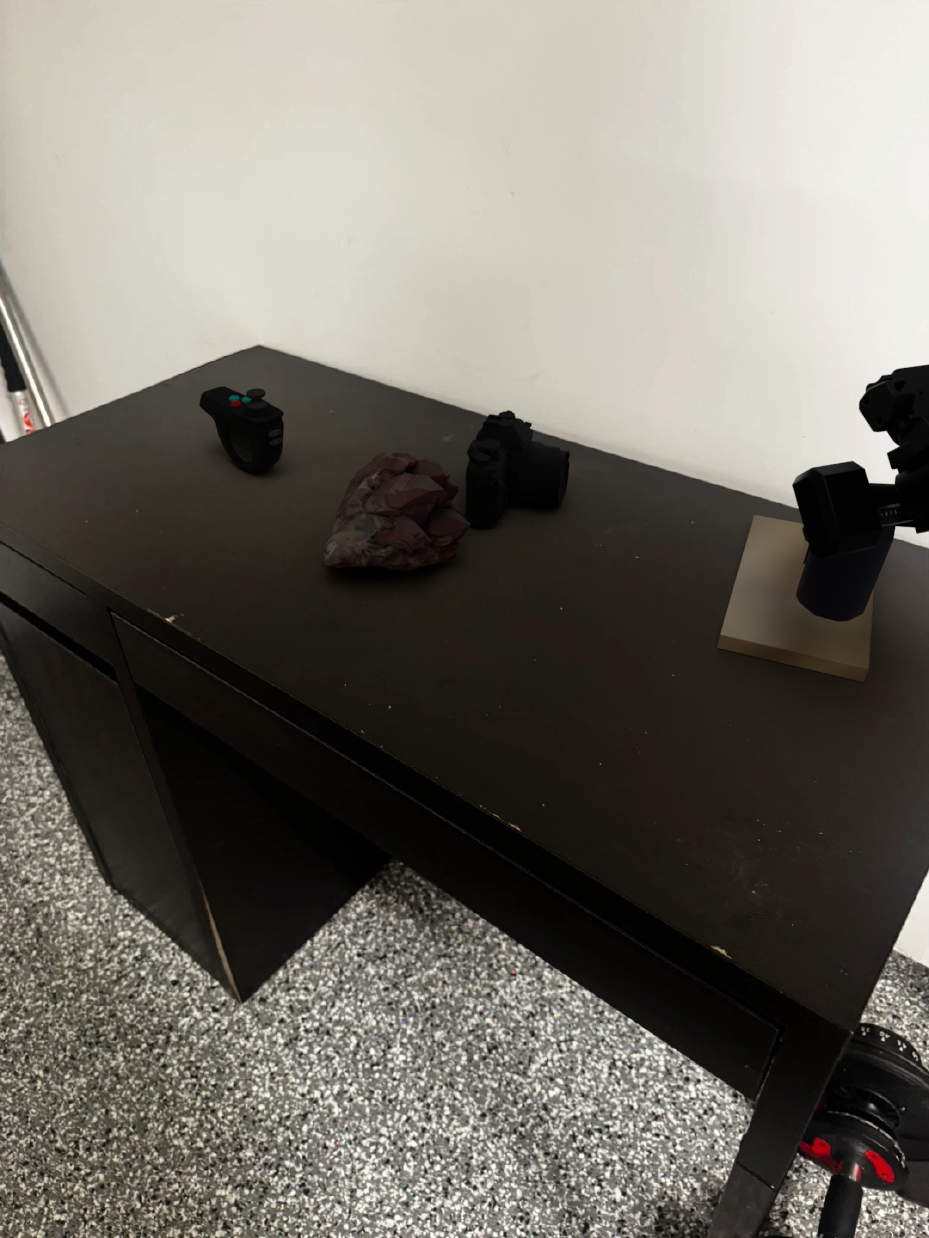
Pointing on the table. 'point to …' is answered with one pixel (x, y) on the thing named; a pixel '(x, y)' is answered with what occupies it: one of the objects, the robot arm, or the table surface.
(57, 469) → the table surface
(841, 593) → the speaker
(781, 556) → the birch board
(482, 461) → the film camera
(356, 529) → the mineral specimen
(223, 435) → the controller
